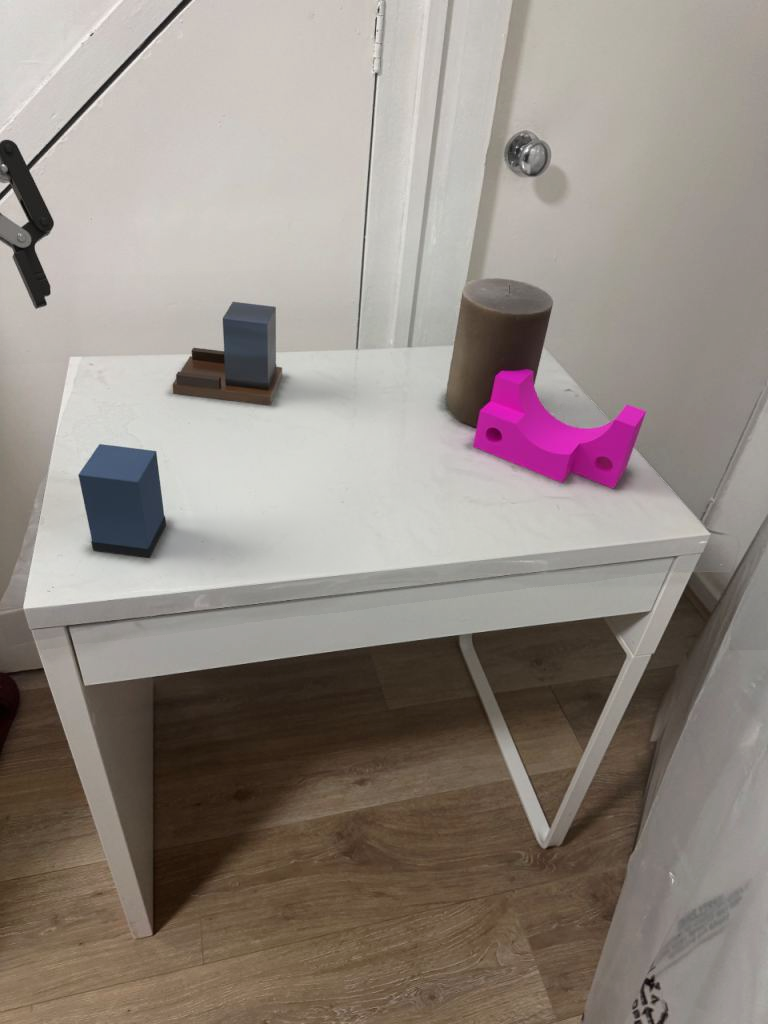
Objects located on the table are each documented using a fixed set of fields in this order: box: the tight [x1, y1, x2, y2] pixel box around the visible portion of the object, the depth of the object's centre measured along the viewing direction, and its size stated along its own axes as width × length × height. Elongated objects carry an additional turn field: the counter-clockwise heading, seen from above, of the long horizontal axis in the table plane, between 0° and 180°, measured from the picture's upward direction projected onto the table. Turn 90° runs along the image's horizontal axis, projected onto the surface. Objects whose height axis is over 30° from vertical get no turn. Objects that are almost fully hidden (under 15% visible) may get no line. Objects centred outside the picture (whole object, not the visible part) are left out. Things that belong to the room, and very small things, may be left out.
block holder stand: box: [172, 301, 283, 406], centre depth 85 cm, size 7×11×9 cm, turn 85°
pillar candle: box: [445, 277, 554, 428], centre depth 84 cm, size 10×10×15 cm
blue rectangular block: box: [78, 443, 167, 558], centre depth 64 cm, size 4×5×8 cm
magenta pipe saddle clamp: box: [472, 369, 647, 489], centre depth 79 cm, size 15×6×8 cm, turn 58°
